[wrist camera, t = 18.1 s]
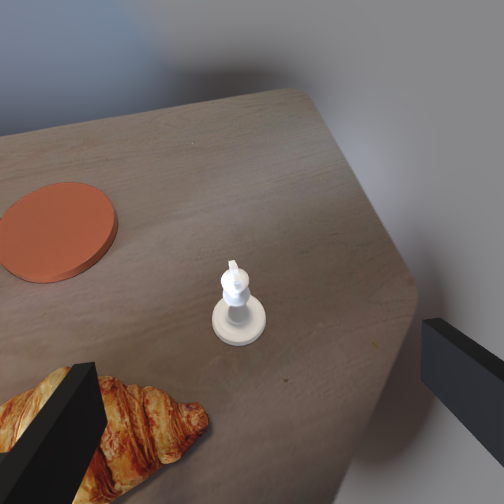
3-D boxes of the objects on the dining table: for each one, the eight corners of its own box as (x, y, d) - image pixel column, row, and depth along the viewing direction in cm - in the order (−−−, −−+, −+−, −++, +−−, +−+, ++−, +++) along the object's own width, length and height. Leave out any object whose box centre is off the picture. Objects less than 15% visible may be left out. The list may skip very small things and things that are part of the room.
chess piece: (219, 352, 31) (206, 308, 22) (206, 302, 33) (191, 245, 25) (272, 337, 32) (280, 288, 23) (256, 289, 34) (258, 229, 25)
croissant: (-49, 516, 28) (-161, 614, 20) (-66, 387, 28) (-181, 431, 20) (220, 457, 29) (217, 526, 21) (200, 336, 30) (189, 359, 22)
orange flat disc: (136, 243, 37) (133, 236, 36) (20, 305, 33) (12, 300, 32) (92, 174, 42) (88, 166, 41) (-14, 221, 38) (-21, 214, 37)
